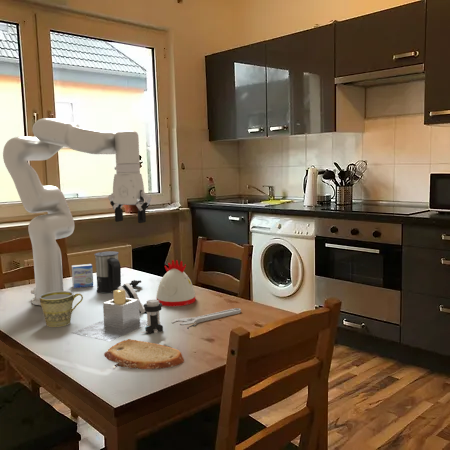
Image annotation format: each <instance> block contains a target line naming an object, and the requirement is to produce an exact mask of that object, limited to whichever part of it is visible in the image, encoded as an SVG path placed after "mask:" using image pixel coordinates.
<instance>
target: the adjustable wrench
mask: <svg viewBox="0 0 450 450" xmlns="http://www.w3.org/2000/svg"><path fill="white" fill-rule="evenodd" d="M241 312H242V309H241V308H238V307H235V308H229V309H225V310H222V311H217V312H212V313H208V314H204V315H203V314H202V315H200V316H195V317H184V318H183V317H182V318H181V317H180V318H174V319H173V320H171V324H174V323H177V322H181V323H179V325H180V326H187V325H188V326H187V329H188V328H192V327H193V328H194V327H195V326H196V325H197V324H199V323H202V322H207V321H211V320H216V319H220V318H225V317H228V316H232V315H233V316H234V315H236V314H241ZM189 325H190V326H189Z"/></svg>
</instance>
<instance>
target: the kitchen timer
mask: <svg viewBox="0 0 450 450" xmlns="http://www.w3.org/2000/svg"><path fill="white" fill-rule="evenodd" d="M183 264H184V263H183V260H180V263H179V260H178V259H176V260H174V259H172V260H171V262H167V265H168V267H167V265H164V269H165V271H166V273H165V274H164V275H163V276H162V277H161V280H160V281H159V284H158V288H157V290H156V299H155V300H159V303H162V306H164V307H181V306H187V305H190V304H194V303H195V302H196V292H195V288H194V286H193V283H192V280H191V279H190V277H189V276H188V274H186V272H185V270H186V266H187V264H186V263H185V264H184V265H183Z"/></svg>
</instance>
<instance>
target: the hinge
mask: <svg viewBox="0 0 450 450" xmlns="http://www.w3.org/2000/svg"><path fill="white" fill-rule="evenodd" d="M129 283H130V282H129ZM129 283H128V282H126V283H123V285H121V286H120V287H118V290H125V295H126V298H132V299H138V300H139V312H140V314H144V313H145V314H147V312H146V311H145V309H144V304H142V303H141V301H140V299H139V296H138V294H137V292H136V291H135V289H134V287H133V286H132V285H130V284H129Z"/></svg>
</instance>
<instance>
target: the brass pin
mask: <svg viewBox="0 0 450 450" xmlns="http://www.w3.org/2000/svg"><path fill="white" fill-rule="evenodd" d="M112 293H113V295H112V296H113V299H114V303H116V304H124V303H126V295H125V290H115V291H113V292H112Z"/></svg>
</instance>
